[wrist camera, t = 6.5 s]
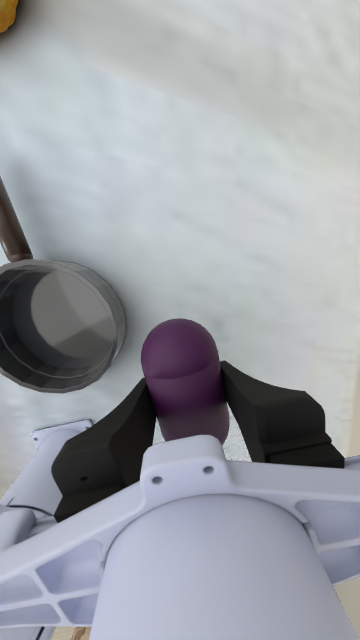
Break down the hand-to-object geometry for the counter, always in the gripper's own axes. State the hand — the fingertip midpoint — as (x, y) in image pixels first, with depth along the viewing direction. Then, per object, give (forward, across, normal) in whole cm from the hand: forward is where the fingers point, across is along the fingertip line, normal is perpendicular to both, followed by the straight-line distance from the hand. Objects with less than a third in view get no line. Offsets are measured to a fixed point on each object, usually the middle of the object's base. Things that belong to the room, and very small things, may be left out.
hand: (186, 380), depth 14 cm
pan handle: (+7, +12, -16) cm, 21 cm away
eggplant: (+2, 0, +1) cm, 2 cm away
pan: (+9, +12, -5) cm, 16 cm away
